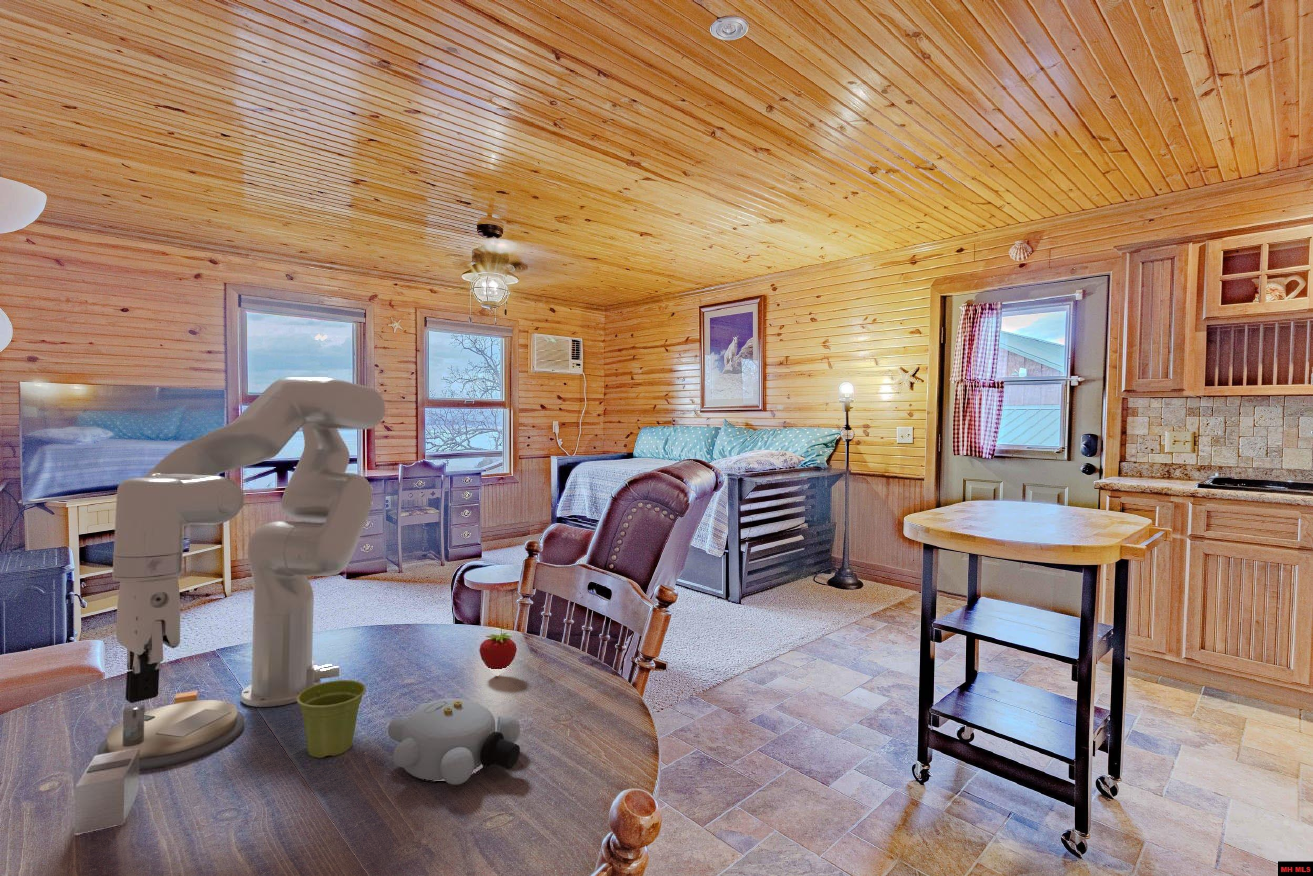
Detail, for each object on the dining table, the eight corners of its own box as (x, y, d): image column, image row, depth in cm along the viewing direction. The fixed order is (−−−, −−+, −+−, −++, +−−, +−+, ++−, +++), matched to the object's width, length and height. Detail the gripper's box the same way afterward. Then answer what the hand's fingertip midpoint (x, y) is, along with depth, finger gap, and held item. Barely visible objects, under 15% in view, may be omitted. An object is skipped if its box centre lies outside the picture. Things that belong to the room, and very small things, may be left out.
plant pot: (378, 740, 97) (379, 685, 97) (328, 770, 88) (330, 710, 88) (332, 729, 100) (333, 676, 100) (280, 757, 92) (281, 699, 91)
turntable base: (249, 699, 111) (249, 682, 111) (239, 751, 93) (239, 731, 93) (118, 720, 102) (119, 702, 102) (80, 782, 84) (80, 760, 84)
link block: (138, 792, 82) (139, 746, 82) (123, 825, 75) (124, 776, 75) (94, 801, 80) (95, 754, 80) (74, 837, 73) (75, 785, 73)
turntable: (241, 701, 107) (242, 664, 107) (232, 742, 93) (233, 700, 93) (121, 720, 99) (122, 681, 99) (92, 768, 85) (93, 722, 85)
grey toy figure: (356, 774, 87) (471, 824, 80) (362, 715, 87) (478, 761, 80) (440, 722, 103) (542, 760, 96) (446, 672, 103) (549, 707, 96)
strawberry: (485, 669, 127) (486, 621, 127) (520, 672, 126) (521, 623, 126) (473, 680, 121) (474, 630, 121) (509, 683, 120) (511, 632, 120)
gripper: (201, 569, 85) (194, 704, 84) (162, 556, 93) (156, 678, 93) (132, 577, 79) (124, 722, 78) (97, 563, 87) (90, 693, 87)
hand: (141, 698), depth 86 cm, fingers closed
